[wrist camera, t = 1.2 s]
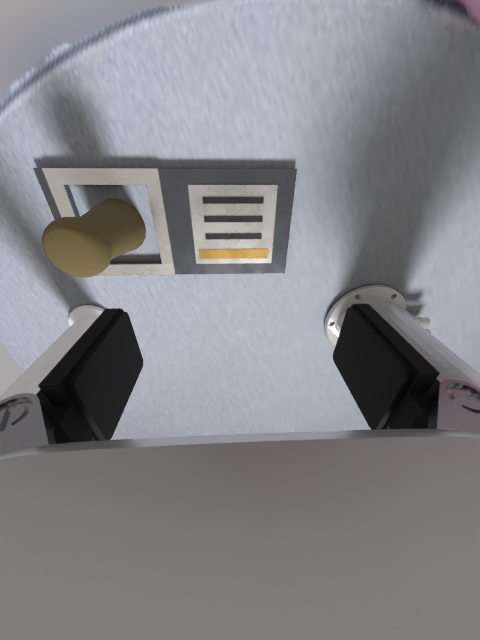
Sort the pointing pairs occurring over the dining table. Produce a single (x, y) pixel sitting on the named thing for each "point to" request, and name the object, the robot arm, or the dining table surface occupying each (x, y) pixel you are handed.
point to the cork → (93, 238)
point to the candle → (54, 351)
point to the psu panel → (196, 216)
